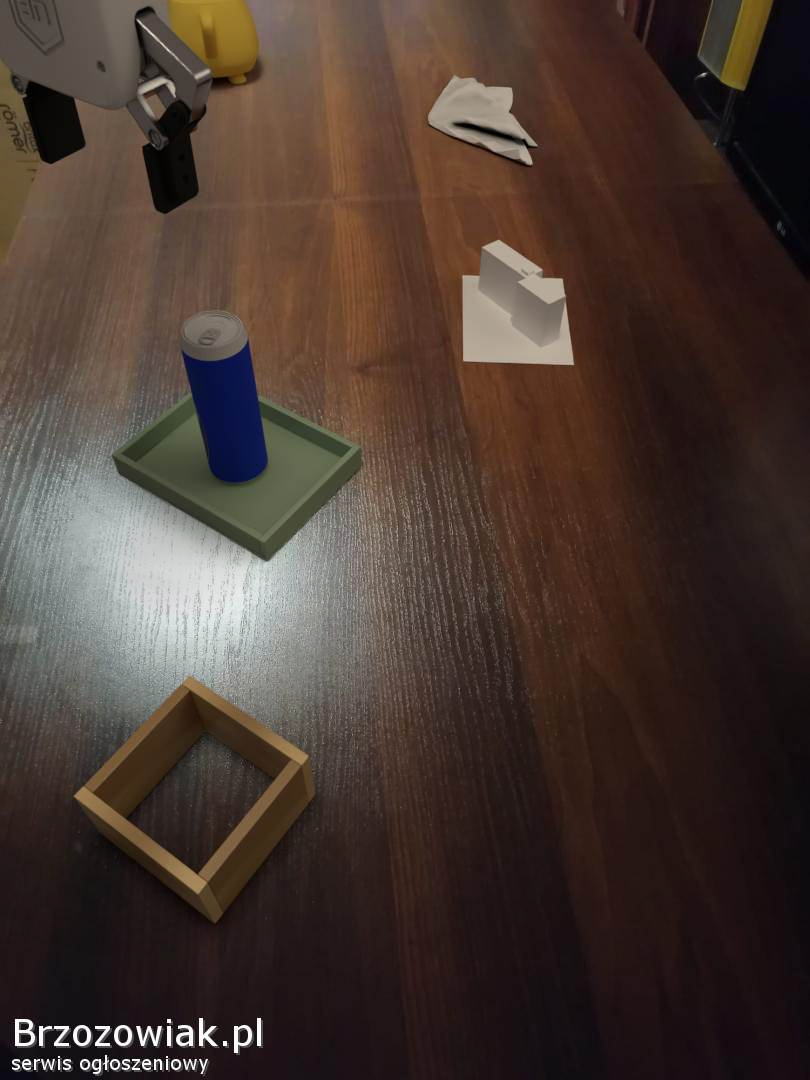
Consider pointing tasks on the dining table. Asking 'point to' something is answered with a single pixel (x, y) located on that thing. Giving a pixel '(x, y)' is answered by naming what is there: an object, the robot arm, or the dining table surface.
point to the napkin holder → (514, 312)
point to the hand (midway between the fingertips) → (119, 178)
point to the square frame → (153, 758)
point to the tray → (250, 508)
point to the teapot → (217, 34)
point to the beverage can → (224, 395)
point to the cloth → (481, 118)
